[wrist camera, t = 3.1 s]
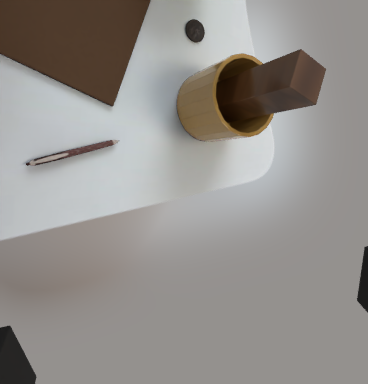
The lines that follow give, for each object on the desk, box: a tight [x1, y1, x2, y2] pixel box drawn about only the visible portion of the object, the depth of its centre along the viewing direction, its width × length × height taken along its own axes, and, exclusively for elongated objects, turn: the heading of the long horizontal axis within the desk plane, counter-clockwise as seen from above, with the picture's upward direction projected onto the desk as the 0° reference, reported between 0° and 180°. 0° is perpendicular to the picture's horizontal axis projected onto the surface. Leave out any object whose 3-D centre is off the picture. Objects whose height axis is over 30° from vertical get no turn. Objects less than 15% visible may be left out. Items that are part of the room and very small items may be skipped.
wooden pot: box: [177, 54, 274, 142], centre depth 45 cm, size 10×10×9 cm
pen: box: [26, 140, 118, 166], centre depth 40 cm, size 11×1×1 cm, turn 106°
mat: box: [0, 0, 150, 106], centre depth 38 cm, size 20×16×1 cm
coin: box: [186, 19, 205, 42], centre depth 47 cm, size 3×1×3 cm
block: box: [216, 49, 326, 123], centre depth 41 cm, size 4×4×18 cm
